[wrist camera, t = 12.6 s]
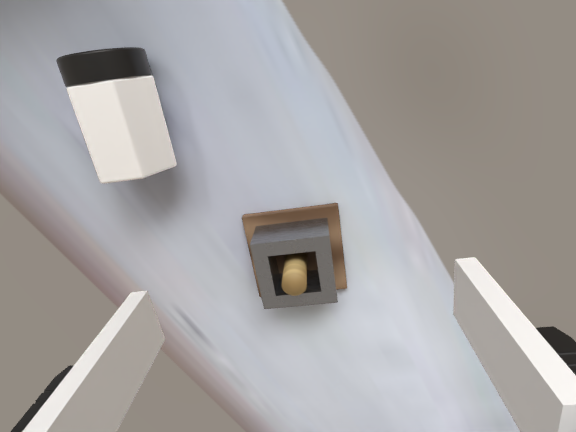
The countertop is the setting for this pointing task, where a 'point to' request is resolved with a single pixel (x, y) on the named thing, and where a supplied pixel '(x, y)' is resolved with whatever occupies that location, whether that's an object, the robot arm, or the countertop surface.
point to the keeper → (300, 263)
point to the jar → (118, 112)
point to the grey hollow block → (292, 241)
